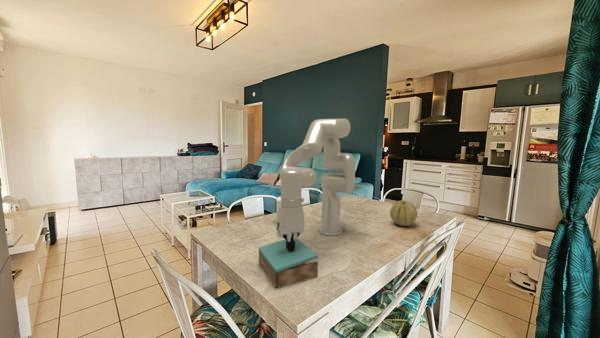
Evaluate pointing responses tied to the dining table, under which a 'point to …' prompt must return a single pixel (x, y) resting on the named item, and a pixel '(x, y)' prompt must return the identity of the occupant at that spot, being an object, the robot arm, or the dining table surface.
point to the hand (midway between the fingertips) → (290, 250)
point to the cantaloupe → (403, 213)
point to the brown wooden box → (289, 272)
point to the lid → (286, 255)
